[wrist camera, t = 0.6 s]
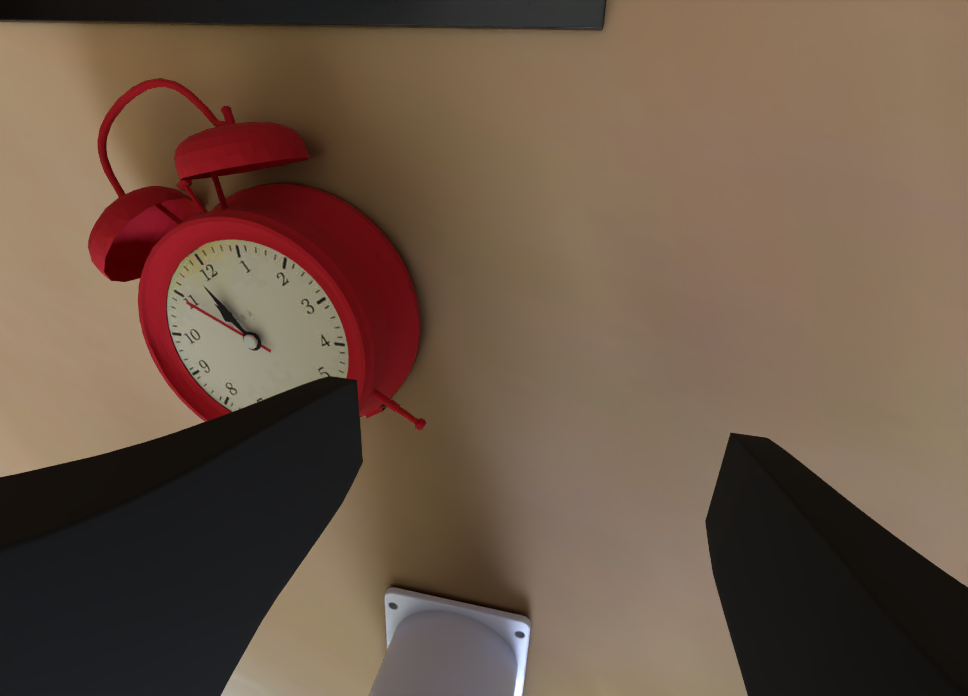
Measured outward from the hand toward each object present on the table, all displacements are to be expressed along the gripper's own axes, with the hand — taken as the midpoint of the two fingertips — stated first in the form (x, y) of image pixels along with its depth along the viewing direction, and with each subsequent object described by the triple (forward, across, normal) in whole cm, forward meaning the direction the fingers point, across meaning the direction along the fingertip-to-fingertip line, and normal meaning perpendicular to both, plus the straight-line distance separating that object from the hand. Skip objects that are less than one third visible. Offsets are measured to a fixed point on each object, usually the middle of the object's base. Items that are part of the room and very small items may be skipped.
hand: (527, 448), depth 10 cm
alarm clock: (+10, +12, 0) cm, 16 cm away
